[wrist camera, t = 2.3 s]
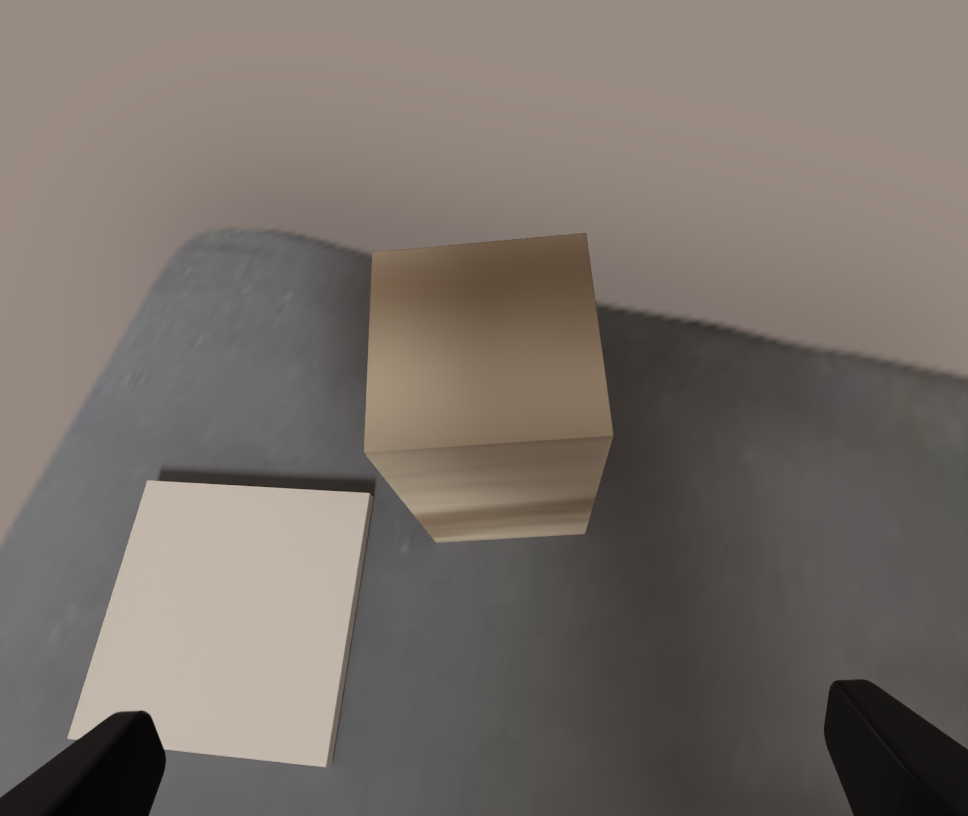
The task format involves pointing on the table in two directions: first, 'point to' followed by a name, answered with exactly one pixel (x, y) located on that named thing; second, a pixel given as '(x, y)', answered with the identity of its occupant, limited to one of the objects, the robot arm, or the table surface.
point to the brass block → (488, 386)
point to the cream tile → (233, 620)
